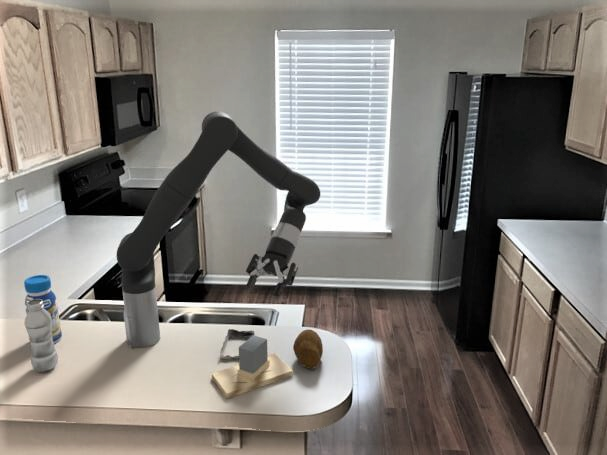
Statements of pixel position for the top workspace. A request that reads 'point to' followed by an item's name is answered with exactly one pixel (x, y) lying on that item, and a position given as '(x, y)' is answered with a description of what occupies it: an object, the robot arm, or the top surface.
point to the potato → (308, 348)
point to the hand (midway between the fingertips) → (262, 293)
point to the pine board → (238, 384)
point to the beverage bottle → (44, 300)
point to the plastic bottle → (40, 336)
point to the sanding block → (253, 357)
